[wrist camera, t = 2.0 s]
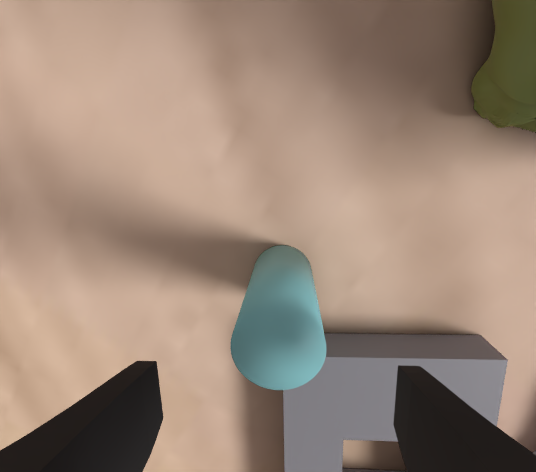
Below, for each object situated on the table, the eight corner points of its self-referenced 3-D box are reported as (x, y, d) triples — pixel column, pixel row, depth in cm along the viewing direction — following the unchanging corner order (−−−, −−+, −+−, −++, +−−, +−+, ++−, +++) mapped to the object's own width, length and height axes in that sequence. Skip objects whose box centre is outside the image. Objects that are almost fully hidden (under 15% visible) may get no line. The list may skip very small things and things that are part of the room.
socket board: (283, 332, 20) (282, 356, 18) (480, 335, 20) (507, 360, 17) (286, 525, 24) (286, 566, 22) (452, 533, 23) (471, 577, 21)
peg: (252, 245, 19) (228, 304, 11) (311, 245, 19) (327, 305, 11) (254, 299, 20) (232, 389, 12) (311, 300, 20) (325, 391, 12)
